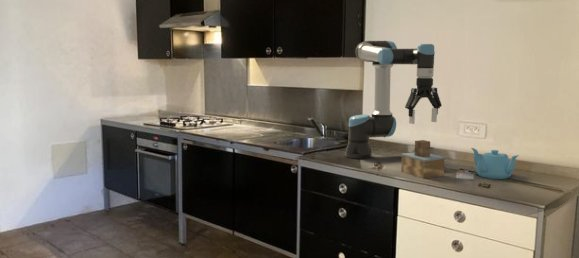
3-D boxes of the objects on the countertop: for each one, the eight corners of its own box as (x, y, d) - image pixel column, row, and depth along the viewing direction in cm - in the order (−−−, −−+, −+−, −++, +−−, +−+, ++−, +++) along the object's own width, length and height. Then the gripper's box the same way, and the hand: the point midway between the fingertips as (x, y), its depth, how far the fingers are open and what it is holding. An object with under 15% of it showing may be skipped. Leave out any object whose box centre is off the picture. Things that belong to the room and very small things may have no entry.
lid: (400, 155, 238) (400, 153, 237) (420, 153, 243) (420, 151, 243) (424, 161, 223) (424, 159, 223) (445, 158, 228) (445, 157, 228)
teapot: (477, 179, 222) (478, 153, 221) (469, 170, 240) (471, 146, 239) (517, 181, 219) (519, 154, 218) (506, 172, 237) (508, 147, 236)
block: (414, 155, 234) (414, 140, 233) (422, 154, 236) (423, 140, 235) (421, 157, 229) (422, 142, 228) (429, 156, 231) (430, 141, 230)
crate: (401, 171, 239) (401, 155, 238) (420, 169, 244) (420, 153, 243) (424, 178, 224) (424, 161, 223) (443, 175, 230) (444, 159, 229)
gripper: (409, 78, 219) (407, 125, 222) (450, 77, 230) (448, 122, 233) (398, 77, 226) (396, 123, 229) (439, 76, 237) (437, 120, 240)
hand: (422, 122), depth 231 cm, fingers open, 13 cm apart
